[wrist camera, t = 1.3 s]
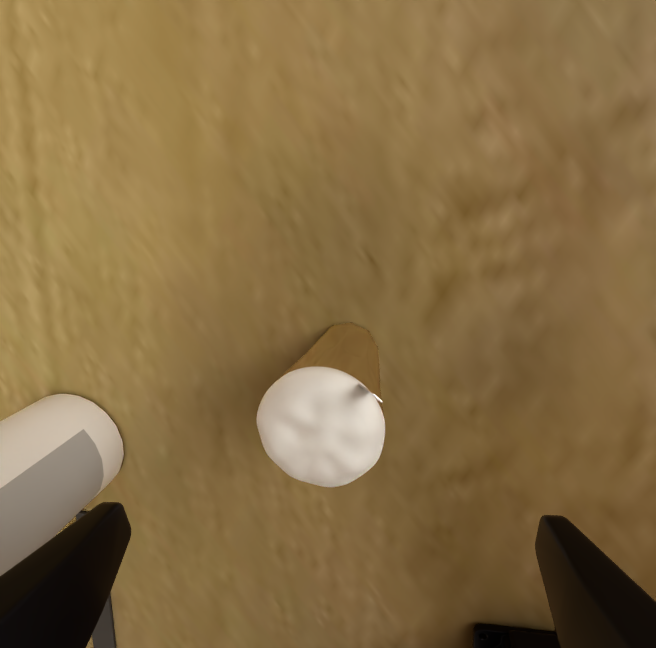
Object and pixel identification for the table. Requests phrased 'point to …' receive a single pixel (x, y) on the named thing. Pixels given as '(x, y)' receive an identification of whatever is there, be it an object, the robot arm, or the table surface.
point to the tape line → (103, 621)
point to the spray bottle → (51, 469)
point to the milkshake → (327, 410)
